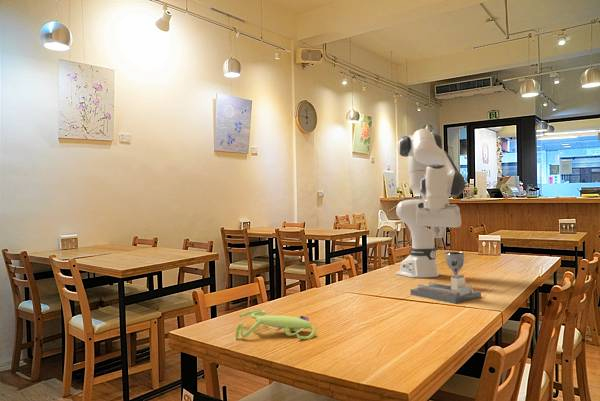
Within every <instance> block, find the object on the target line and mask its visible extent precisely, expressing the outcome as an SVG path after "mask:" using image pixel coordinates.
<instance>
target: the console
mask: <svg viewBox="0 0 600 401" xmlns="http://www.w3.org/2000/svg"><path fill="white" fill-rule="evenodd" d="M450 285H451V284H443V283H437V282H431V281H430V282H428V285H424V284H417V287H416V288H412V289H410V295H412V296H417V297H421V298H422V297H423V298H427V299H431V300H436V301H441V302H445V303H452V304H458V303H464V302H467V301H471V300H474V299H478V298H482V291H478V290H474V289H473V285H471V284H469V285H465V286H464V287H459V288H457V291H454V290H451V286H450Z"/></svg>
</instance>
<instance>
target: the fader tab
mask: <svg viewBox="0 0 600 401" xmlns="http://www.w3.org/2000/svg"><path fill="white" fill-rule="evenodd" d="M450 285H451V290H454V291H457V288H459V287H464V286H466V277H465V275H464V274H459V273H458V274H457V275H451V277H450Z"/></svg>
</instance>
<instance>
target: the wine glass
mask: <svg viewBox="0 0 600 401" xmlns="http://www.w3.org/2000/svg"><path fill="white" fill-rule="evenodd" d="M465 258H466V257H465V252H464V251H463V252H462V251H447V252H445V261H446V265H447V267H448V268H449V269H450V270H451V271H452V272H453V274H454V275H458V274H459V272H460V270H461V269H462V268H463V267H464V264H465V260H466V259H465ZM449 285H450V286H451V284H449Z"/></svg>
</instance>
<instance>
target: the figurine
mask: <svg viewBox="0 0 600 401" xmlns="http://www.w3.org/2000/svg"><path fill="white" fill-rule="evenodd" d="M266 312H267V311H265V310H264V309H263V310H262V309H253V310H249V311H246V312H243V313H240V314H239V319H240V318H243V317H247V316H249V315H250V318H251V319H253V320H255V321H256V322H255V323H254V324H253V325H252V326H251V327H250V328H249V329H248V330H247V331H246V332H244V329H245V328H244V323H243V322H240V323H238V325H237V327H236V329H235V331H236V332H235V339H236V338H237V337H238V338H239V335H240V336H241V338H242V339H243V338H247V337H248V336H249V335H251V334H252V332H253V331H255V330H256V329H257V328H258V327H259V326H260V325H263V326H268V327H273V328H276V329H274V332H278V331H280V330H282V329H284V334H285V335H286V336H288V337H293V336H295V335H296V337H297V339H299V340H301V339H308V340H310V339H309V338H311V339H312V338H314V336H315V335H316V328H315V327H314V326H313V325H311V323H310V321H309V318H310V317H307V316H303V315H300V316H299V317H298V316H295V317H294V316H287V315H266V314H267V313H266ZM305 329H310V330H311V333H310V334H309V335H308V336H303V335H300V334H299V333H301V331H303V330H305ZM289 330H290V332H289ZM291 331H293V332H291ZM294 331H295V332H294Z"/></svg>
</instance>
